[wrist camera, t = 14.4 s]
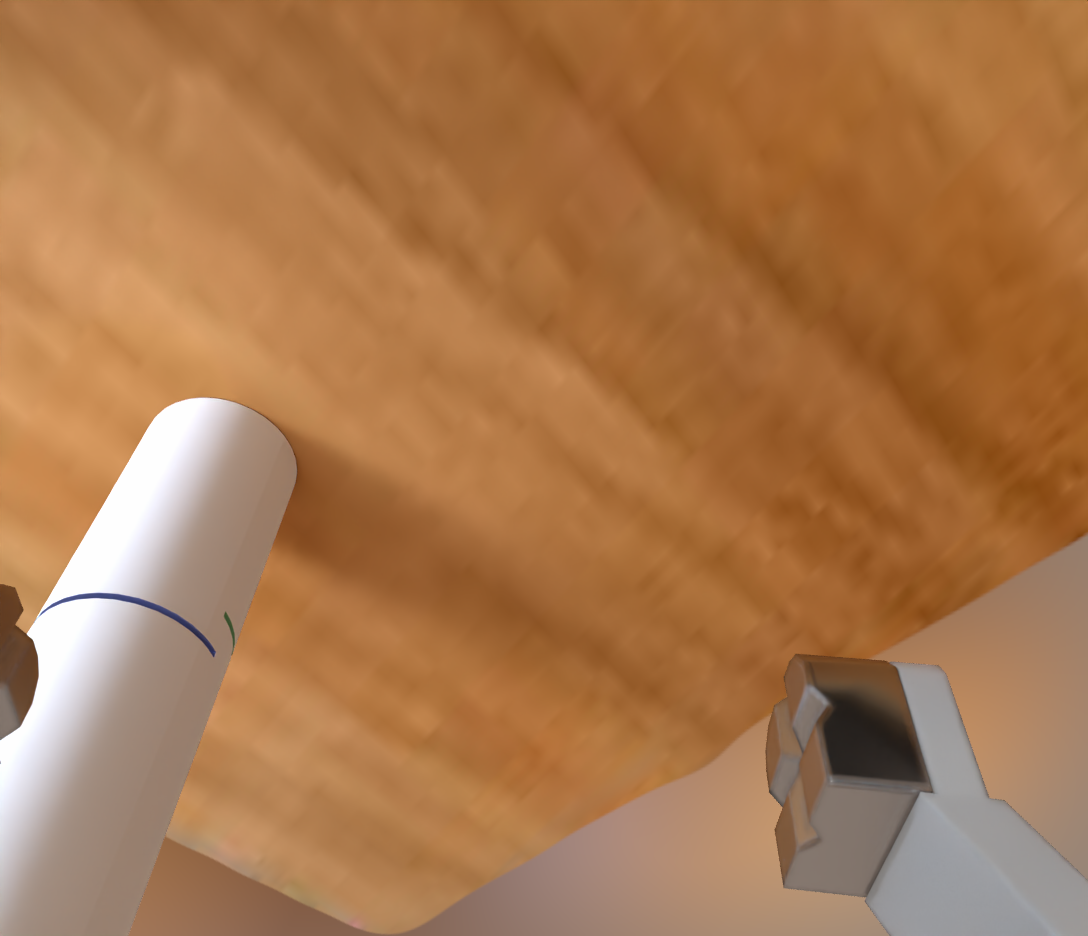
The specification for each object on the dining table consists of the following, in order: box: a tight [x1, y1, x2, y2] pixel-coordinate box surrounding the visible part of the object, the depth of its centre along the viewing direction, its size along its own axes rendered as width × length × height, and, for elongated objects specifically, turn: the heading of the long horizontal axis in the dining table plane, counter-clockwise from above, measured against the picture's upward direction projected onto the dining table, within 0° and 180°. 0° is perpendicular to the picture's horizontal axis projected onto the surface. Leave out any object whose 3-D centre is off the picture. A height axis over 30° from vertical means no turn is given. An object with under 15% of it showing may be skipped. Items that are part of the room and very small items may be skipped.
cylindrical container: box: [0, 398, 297, 936], centre depth 40 cm, size 7×7×25 cm
